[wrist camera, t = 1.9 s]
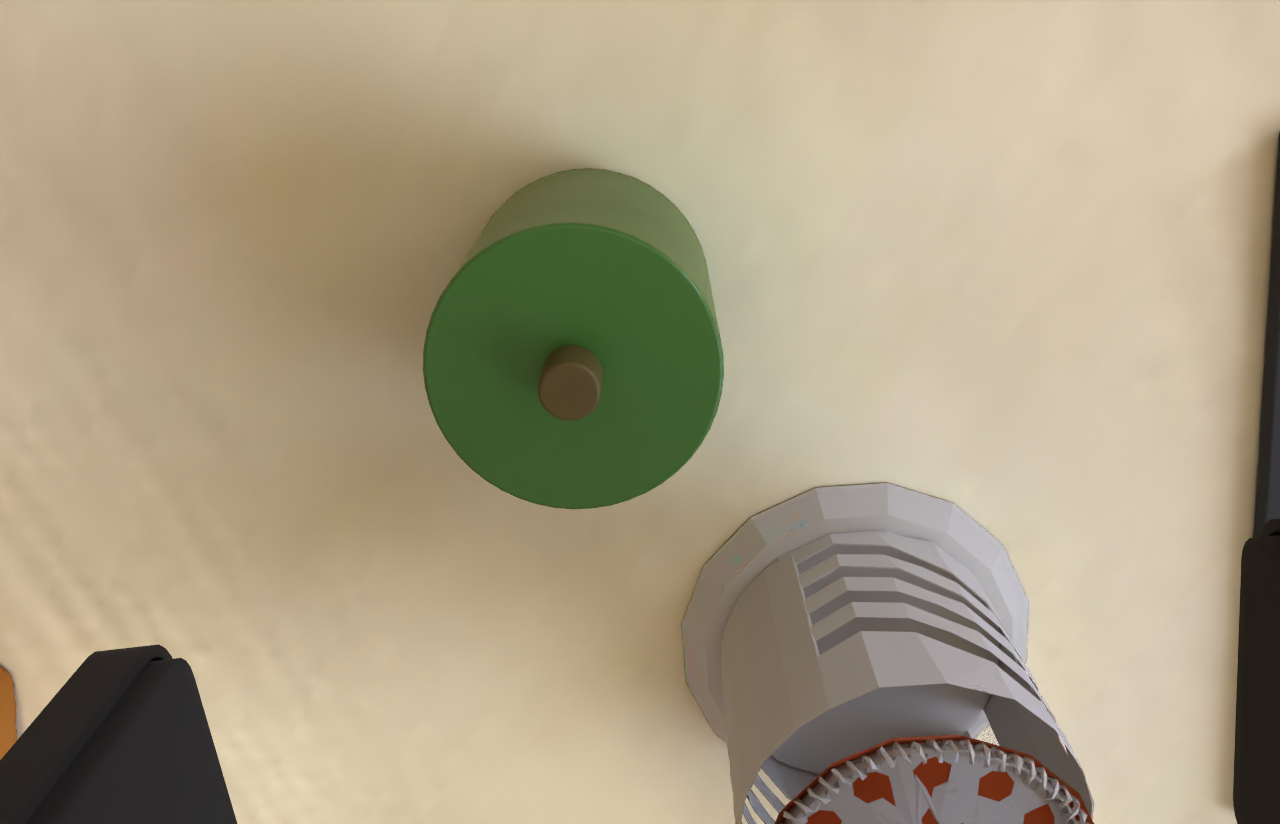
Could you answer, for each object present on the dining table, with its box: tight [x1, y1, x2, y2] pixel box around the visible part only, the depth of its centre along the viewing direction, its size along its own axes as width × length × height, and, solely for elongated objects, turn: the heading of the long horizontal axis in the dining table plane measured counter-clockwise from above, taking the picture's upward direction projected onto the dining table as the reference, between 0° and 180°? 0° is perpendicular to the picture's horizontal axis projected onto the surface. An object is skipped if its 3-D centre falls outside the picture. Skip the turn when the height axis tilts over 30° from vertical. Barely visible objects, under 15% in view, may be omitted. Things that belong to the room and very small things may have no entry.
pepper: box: [423, 169, 724, 509], centre depth 27 cm, size 6×6×8 cm
